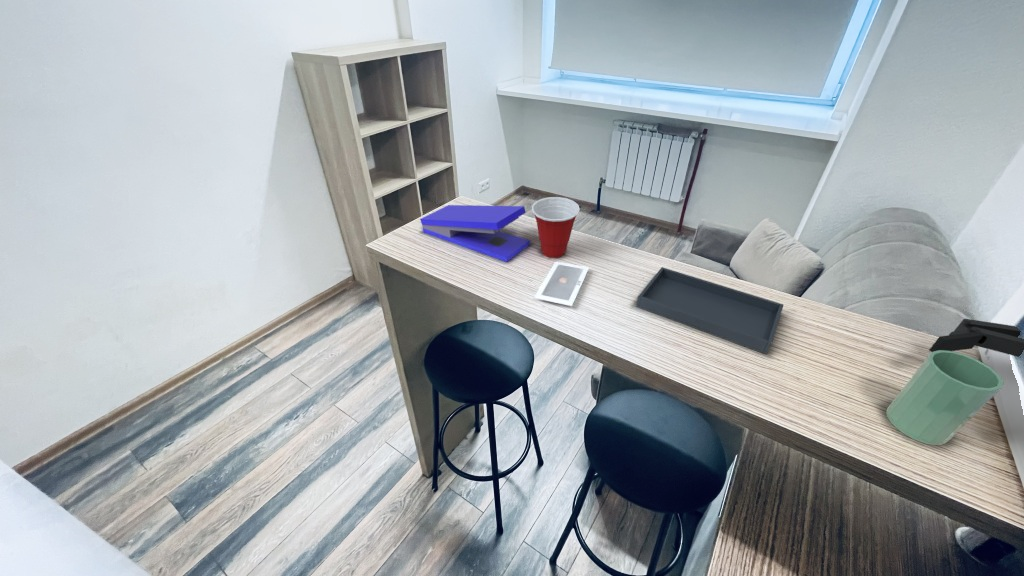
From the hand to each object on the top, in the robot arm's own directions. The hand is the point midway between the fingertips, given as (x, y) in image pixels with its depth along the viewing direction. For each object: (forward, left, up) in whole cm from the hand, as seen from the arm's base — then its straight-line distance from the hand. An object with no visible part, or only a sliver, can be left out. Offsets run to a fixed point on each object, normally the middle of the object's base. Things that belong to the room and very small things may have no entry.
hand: (987, 380), depth 54 cm
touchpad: (+47, +42, -8) cm, 63 cm away
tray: (+31, +18, -8) cm, 36 cm away
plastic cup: (+61, +39, -8) cm, 72 cm away
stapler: (+74, +55, -8) cm, 93 cm away
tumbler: (+1, +6, -8) cm, 10 cm away
